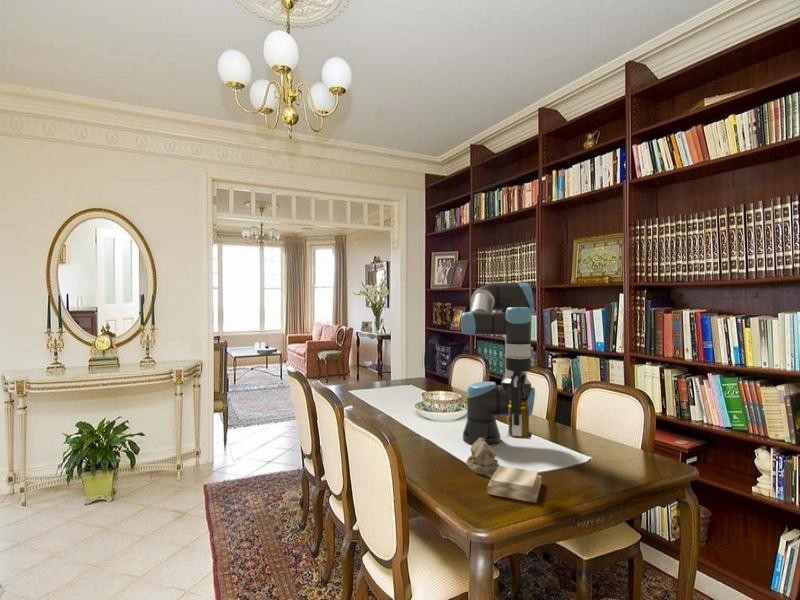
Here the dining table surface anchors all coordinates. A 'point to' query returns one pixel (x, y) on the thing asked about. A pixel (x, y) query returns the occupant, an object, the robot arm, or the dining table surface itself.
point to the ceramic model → (482, 458)
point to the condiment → (525, 420)
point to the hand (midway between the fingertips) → (518, 431)
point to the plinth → (515, 492)
